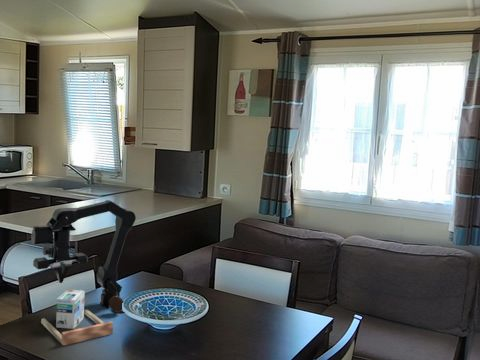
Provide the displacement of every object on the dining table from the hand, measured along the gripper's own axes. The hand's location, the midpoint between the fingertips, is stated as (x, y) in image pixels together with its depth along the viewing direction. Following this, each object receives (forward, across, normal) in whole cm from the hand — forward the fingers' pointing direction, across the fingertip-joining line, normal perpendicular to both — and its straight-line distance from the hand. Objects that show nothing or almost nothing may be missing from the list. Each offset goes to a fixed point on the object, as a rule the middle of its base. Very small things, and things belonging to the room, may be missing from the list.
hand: (60, 282), depth 184 cm
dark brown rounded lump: (+12, -19, +9) cm, 25 cm away
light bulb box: (+12, 0, +10) cm, 16 cm away
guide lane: (+12, 0, +16) cm, 20 cm away
